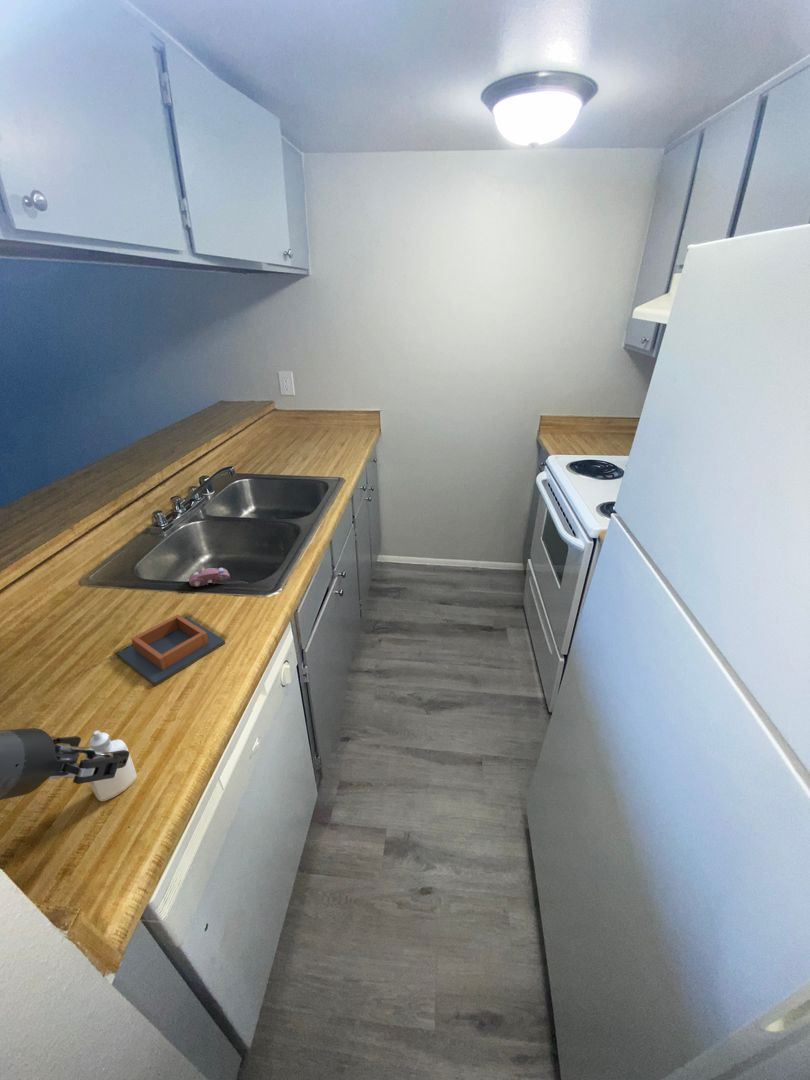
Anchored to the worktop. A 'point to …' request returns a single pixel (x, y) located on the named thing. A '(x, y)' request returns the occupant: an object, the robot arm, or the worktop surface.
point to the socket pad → (169, 648)
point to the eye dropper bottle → (122, 776)
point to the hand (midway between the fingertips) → (100, 751)
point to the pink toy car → (208, 576)
